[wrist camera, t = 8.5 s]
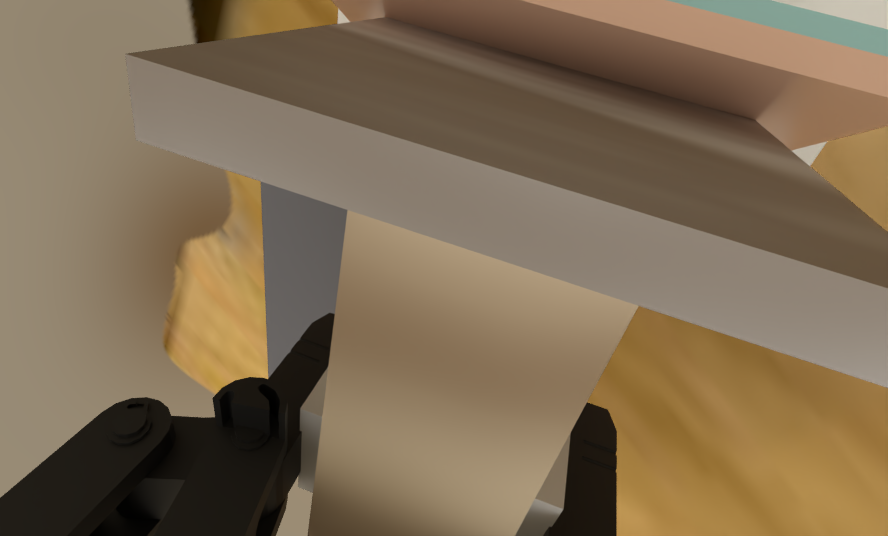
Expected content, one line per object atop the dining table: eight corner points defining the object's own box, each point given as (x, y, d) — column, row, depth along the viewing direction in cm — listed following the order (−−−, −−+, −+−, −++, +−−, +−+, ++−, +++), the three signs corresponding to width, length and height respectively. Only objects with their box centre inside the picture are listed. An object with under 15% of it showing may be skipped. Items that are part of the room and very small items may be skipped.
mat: (425, 439, 39) (422, 447, 38) (274, 381, 40) (269, 388, 39) (486, 225, 26) (483, 233, 26) (268, 155, 28) (259, 160, 27)
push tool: (535, 514, 20) (503, 787, 13) (328, 434, 21) (198, 648, 14) (755, 120, 11) (990, 320, 4) (385, 17, 12) (124, 53, 5)
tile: (942, 111, 8) (970, 49, 8) (274, -66, 9) (288, -121, 9) (692, 175, 20) (701, 151, 20) (412, 93, 21) (418, 69, 21)
